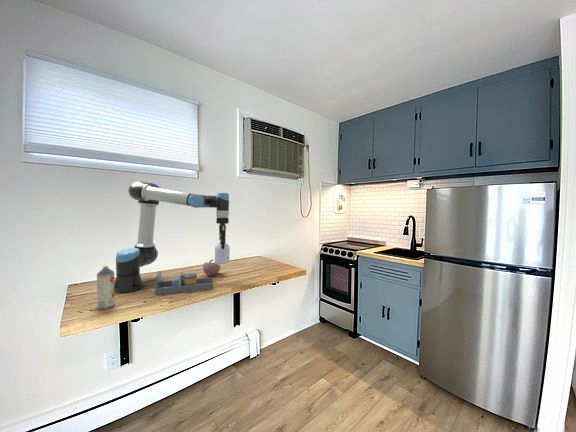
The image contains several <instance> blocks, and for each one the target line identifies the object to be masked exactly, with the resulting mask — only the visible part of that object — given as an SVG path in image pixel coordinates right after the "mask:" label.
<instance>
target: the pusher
mask: <svg viewBox="0 0 576 432" xmlns="http://www.w3.org/2000/svg"><path fill="white" fill-rule="evenodd" d="M182 276H183V270H180V271H179V275H178V276H177V277H172V279H171V281H172V287H175V286H182V280H183V278H182Z"/></svg>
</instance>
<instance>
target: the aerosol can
mask: <svg viewBox="0 0 576 432" xmlns="http://www.w3.org/2000/svg"><path fill="white" fill-rule="evenodd" d="M114 282H115V271H114V270H112V269H110V268H109V267H108V265H104V266H103V267H102V268H101V270H100V271H98V272H97V273H96V302H97V303H96V305H97V306H96V307H97V309H98V310H106V308H107V309H110V308H112V306H113V307H114V306H115V304H116V303H115V301H116V299H115V298H116V297H115V296H116V295H115V293H116V292H115V291H114Z"/></svg>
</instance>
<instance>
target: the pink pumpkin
mask: <svg viewBox="0 0 576 432" xmlns="http://www.w3.org/2000/svg"><path fill="white" fill-rule="evenodd" d="M213 261H214V259H211V260H209V261H207V262H204V263H203V265H202V271H203V273H204V274H205V275H206V276H209V277H213V276H216V275H218V274H219V272H220V271H221V264H216V263H215V262H213Z"/></svg>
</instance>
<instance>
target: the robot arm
mask: <svg viewBox="0 0 576 432" xmlns="http://www.w3.org/2000/svg"><path fill="white" fill-rule="evenodd" d="M128 194H129V195H128V196H129V197H130V198H131V199H133V200H135V201H138V202H137V204H138V205H140V209H139V222H138V233H137V242H136V243H135V244H134V247H128V248H124V249H121V250H119V251H117V252H116V255H115V271H116V272H115V274H116V276H115V279H114V291H115V293H117V294H119V293H120V294H121V293H123V294H124V293H131V292H136V291H137V290H141V289H142V288H144V281H143V279H142V276H141V267H145V266H147V265H150V264H152V263H154V262H156V260H157V258H158V255H159V252H158V249H157V247H156V244H155V243H154V230H155V220H156V210H157V207H158V206H160V202H162V203H163V202H164V203H167V204H168V203H169V204H175V205H181V206H185V207H186V206H188V207H192V208H195V209H199V208H205V209H206V208H211V209H212V208H213V209H214V208H216V214H215V215H216V218H215V219H216V224H217V225H218V224H219V225H220V224H221V226H218V233H219V232H220V234H221V237H220V236H219V235H218V236H219V238H218V240H219V241H218V242H219V243H220V244H221V247H220V254H225V243H226V236H225V233H226V231H227V230H226V229H227V224H229V222H230V221H229V219H230V218H229V216H230V215H229V214H231V212H230V210H229V209H230V195H229V193H227V192H217V193H216V195H205V194H197V193H191V192H185V191H184V192H183V191H181V190H180V191H179V190H172V189H166V188H162V187H161V186H160V185H158V184H156V183H153V182H147V181H145V182H144V181H134V182H132V183H131V184H130V186H129V187H128ZM225 224H226V226H225ZM220 239H221V242H220ZM219 243H218V244H219ZM226 244H227V243H226Z"/></svg>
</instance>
